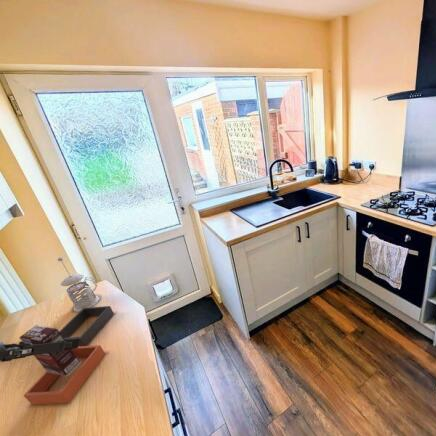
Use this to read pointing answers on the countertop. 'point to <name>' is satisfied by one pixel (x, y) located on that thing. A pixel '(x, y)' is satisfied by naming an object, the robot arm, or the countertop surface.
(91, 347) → the left crate
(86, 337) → the right crate
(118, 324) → the countertop surface
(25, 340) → the supplement box
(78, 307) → the french press
